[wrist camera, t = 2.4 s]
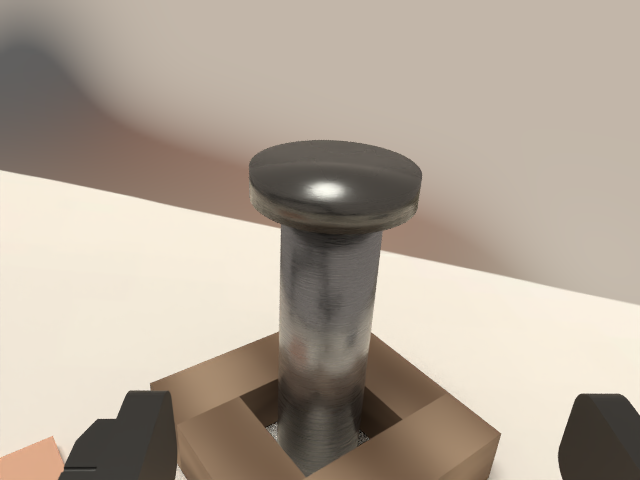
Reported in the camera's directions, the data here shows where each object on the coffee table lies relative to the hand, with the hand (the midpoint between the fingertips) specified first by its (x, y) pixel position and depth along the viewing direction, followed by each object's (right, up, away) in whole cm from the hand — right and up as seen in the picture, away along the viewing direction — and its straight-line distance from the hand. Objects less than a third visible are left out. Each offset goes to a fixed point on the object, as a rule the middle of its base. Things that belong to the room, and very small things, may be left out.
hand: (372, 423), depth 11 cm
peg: (-1, -7, +16) cm, 18 cm away
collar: (-1, -7, +16) cm, 18 cm away
